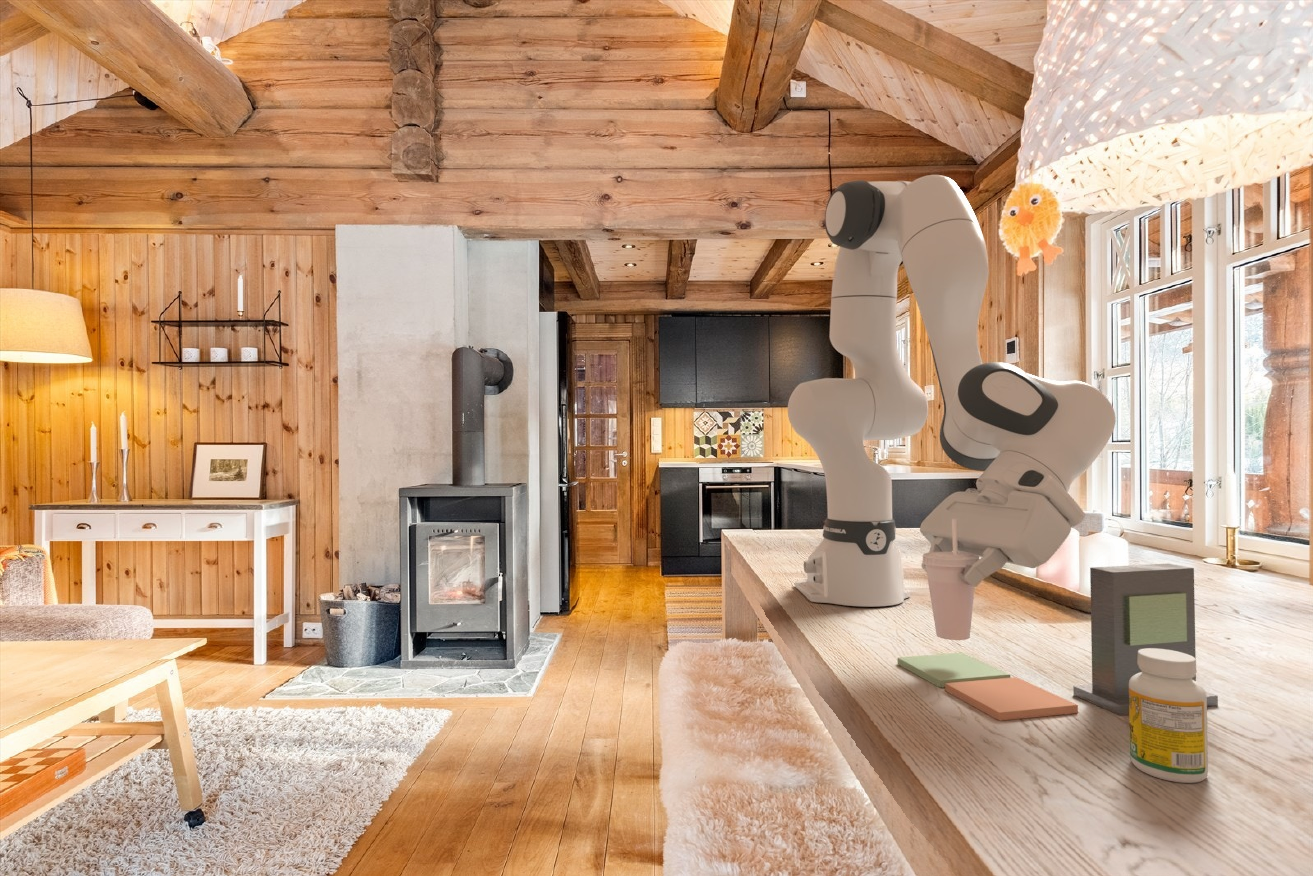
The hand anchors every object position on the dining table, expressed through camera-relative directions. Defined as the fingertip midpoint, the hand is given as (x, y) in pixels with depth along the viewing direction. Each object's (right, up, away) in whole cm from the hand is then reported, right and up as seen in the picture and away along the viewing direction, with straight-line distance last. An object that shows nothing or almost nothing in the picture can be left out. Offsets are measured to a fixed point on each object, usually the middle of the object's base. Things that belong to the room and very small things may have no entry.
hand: (946, 576), depth 86 cm
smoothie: (+1, -7, 0) cm, 7 cm away
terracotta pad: (+3, -11, -10) cm, 15 cm away
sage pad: (+1, -11, 0) cm, 11 cm away
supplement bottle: (+8, -11, -26) cm, 29 cm away
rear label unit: (+17, -11, -10) cm, 23 cm away
